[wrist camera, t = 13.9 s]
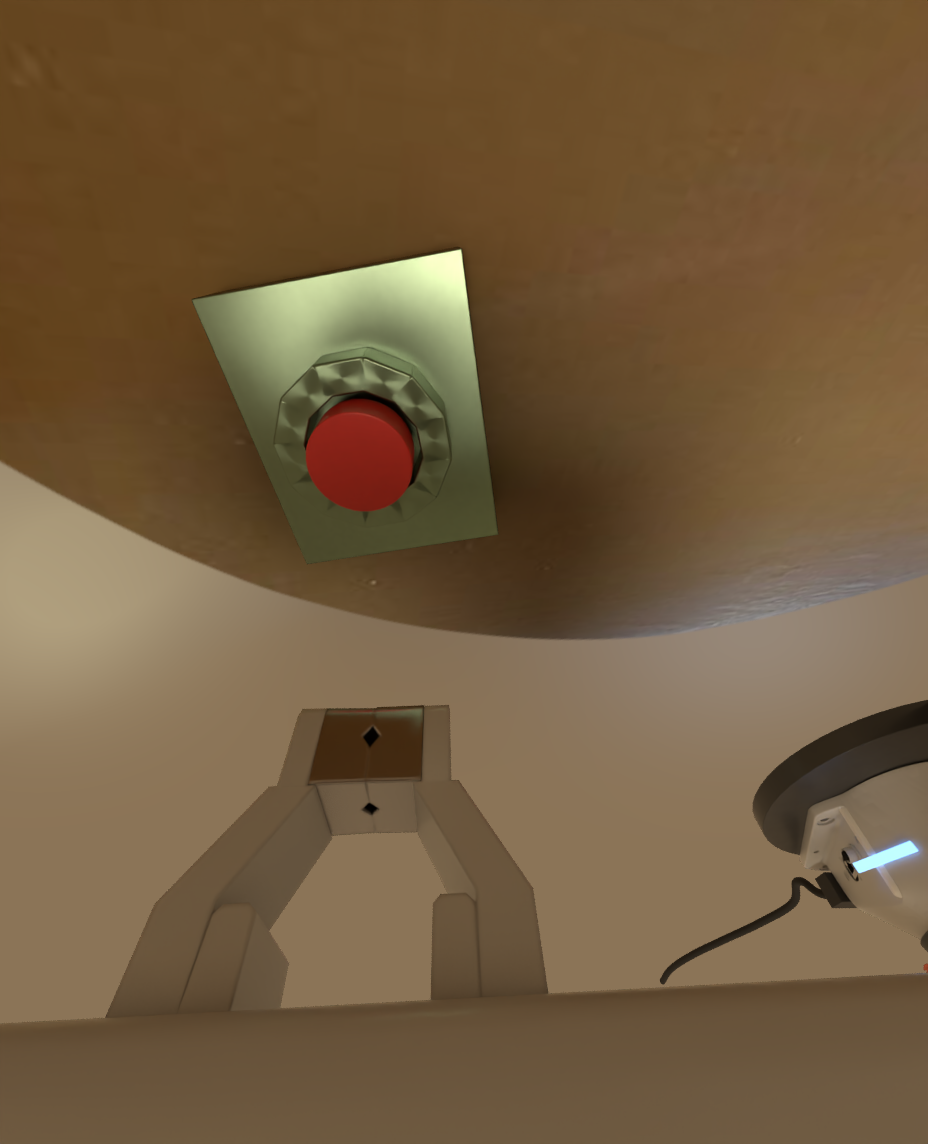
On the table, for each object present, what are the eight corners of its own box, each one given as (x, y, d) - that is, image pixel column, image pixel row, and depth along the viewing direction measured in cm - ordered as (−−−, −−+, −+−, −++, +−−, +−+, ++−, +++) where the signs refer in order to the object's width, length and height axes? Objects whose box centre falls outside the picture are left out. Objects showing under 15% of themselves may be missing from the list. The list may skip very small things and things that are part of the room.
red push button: (423, 484, 20) (422, 503, 19) (333, 499, 20) (325, 519, 19) (402, 389, 18) (398, 403, 16) (300, 407, 18) (288, 422, 16)
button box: (493, 509, 25) (502, 554, 22) (317, 537, 26) (298, 586, 22) (459, 246, 18) (464, 249, 15) (218, 291, 19) (167, 305, 15)
